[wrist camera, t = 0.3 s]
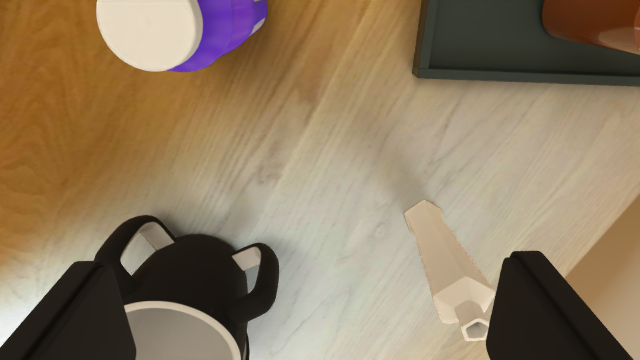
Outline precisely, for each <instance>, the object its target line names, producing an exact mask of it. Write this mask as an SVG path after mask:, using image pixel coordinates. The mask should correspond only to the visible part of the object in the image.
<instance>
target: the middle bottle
mask: <svg viewBox="0 0 640 360" xmlns="http://www.w3.org/2000/svg"><path fill="white" fill-rule="evenodd" d="M542 21H543V25H544V27H545V29H546V31H547V32H548V33H549V34H550V35H551V36H552V37H554V38H557V39H561V40H566V41H571V42H575V43H580V44H585V45H590V46H595V47H600V48H605V49H610V50H615V51H620V52H625V53H630V54H634V55H639V56H640V0H545V1H544V4H543V8H542Z"/></svg>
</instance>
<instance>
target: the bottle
mask: <svg viewBox="0 0 640 360" xmlns="http://www.w3.org/2000/svg"><path fill="white" fill-rule="evenodd" d="M96 14H97V22H98V25H99V29H100V32H101V34H102V37H103V38H104V40H105V42H106V43H107V45H108V46H109V48H110V49H111V50H112V51H113V52H114V53H115V54H116V55H117V56H118V57H119V58H120V59H121V60H123V61H124V62H126V63H128V64H129V65H131V66H133V67H135V68H138V69H141V70H146V71H164V70H167V71H175V72H191V71H196V70H200V69H203V68H205V67H207V66H209V65H210V64H212V63H213V62H214V61H215V60H217V58H218V57H220V56H222V55H224V54H226V53H228V52H230V51H232V50H233V49H235V48H236V47H238V46H239V45H240V44H242V43H243V42H244V41H245V40H246V39H247V38H248V37H249V36H251V35H252V34H253V33H255V32H256V31H257V30H258V29H259V28H260V27H261V26H262V25H263V23H264V21H265V19H266V15H267V2H266V0H97V10H96Z"/></svg>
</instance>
